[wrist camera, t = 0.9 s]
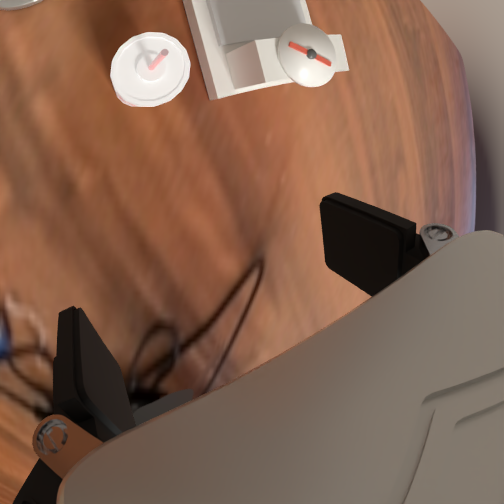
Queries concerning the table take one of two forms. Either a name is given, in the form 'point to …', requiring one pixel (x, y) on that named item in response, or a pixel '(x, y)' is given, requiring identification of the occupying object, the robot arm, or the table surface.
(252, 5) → the scale
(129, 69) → the beverage cup
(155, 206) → the table surface
